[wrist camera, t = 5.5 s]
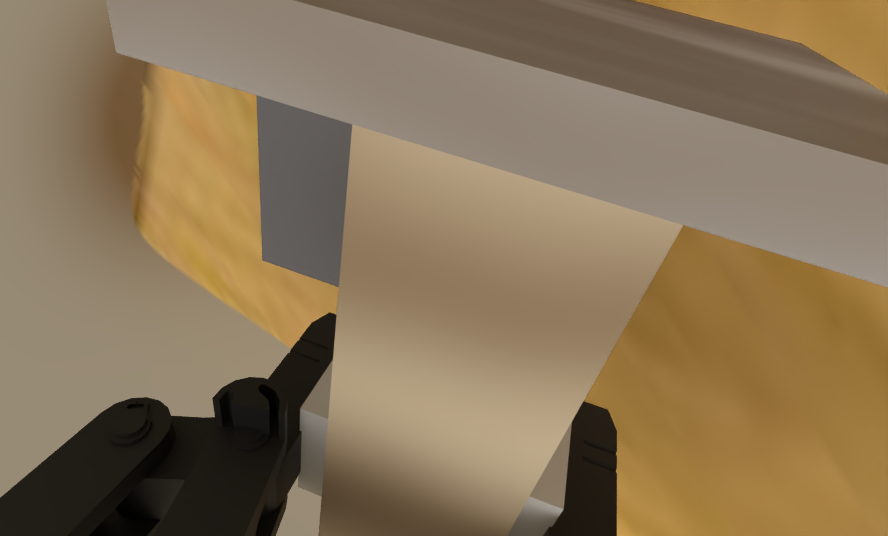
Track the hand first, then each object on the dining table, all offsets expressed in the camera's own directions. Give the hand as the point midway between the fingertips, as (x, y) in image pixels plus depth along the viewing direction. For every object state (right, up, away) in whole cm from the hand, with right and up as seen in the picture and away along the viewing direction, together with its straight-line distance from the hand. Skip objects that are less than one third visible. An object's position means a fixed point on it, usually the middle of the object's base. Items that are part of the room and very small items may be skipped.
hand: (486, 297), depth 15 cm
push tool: (0, +1, +1) cm, 1 cm away
